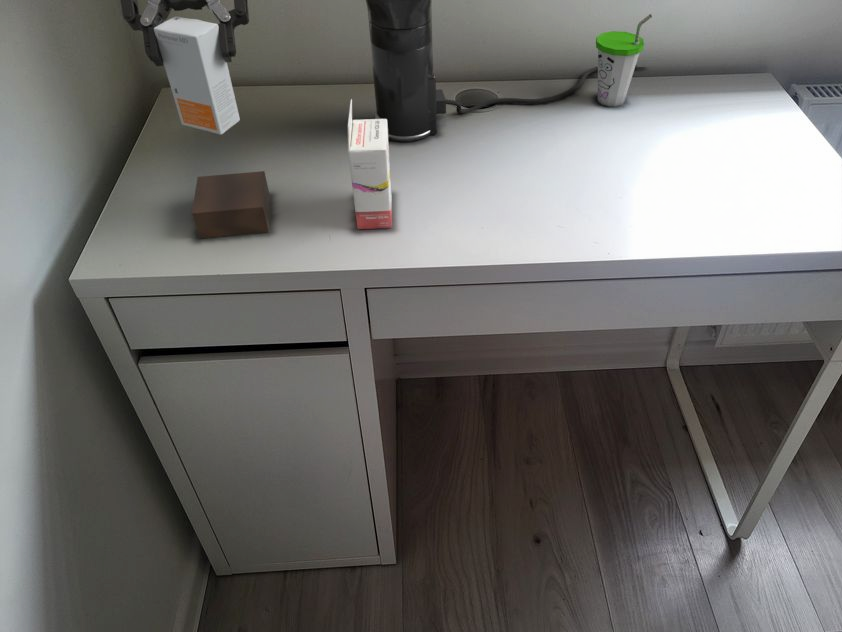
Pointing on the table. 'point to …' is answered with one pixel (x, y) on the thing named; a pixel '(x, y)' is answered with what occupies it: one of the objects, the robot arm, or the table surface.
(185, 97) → the cosmetic box
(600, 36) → the cup
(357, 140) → the ink cartridge box
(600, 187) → the table surface
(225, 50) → the robot arm
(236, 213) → the block
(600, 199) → the table surface
